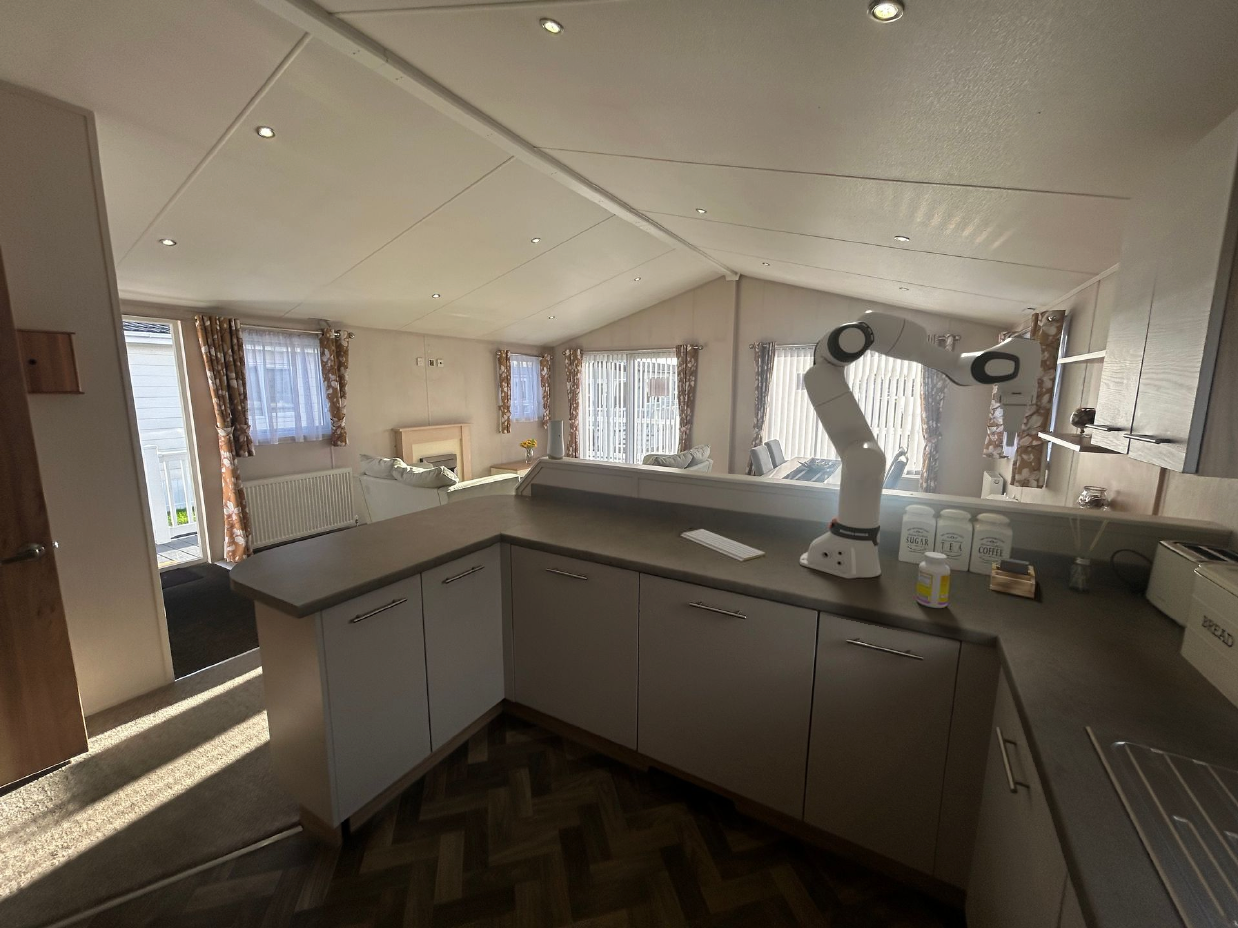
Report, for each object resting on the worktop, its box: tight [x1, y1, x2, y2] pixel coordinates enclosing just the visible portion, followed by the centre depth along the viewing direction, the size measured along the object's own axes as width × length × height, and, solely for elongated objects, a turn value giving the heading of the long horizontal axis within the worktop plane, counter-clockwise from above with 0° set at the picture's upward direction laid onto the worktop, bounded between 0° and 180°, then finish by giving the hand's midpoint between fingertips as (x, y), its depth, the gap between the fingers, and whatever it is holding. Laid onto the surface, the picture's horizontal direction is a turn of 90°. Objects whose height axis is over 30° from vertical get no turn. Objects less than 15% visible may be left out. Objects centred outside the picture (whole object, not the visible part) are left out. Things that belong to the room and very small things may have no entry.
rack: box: [989, 562, 1036, 599], centre depth 135 cm, size 9×18×4 cm, turn 142°
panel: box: [999, 556, 1030, 576], centre depth 134 cm, size 6×2×6 cm, turn 52°
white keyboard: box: [678, 527, 766, 562], centre depth 168 cm, size 31×3×12 cm
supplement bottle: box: [915, 551, 951, 609], centre depth 122 cm, size 7×7×13 cm
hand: (1009, 446), depth 138 cm, fingers closed
